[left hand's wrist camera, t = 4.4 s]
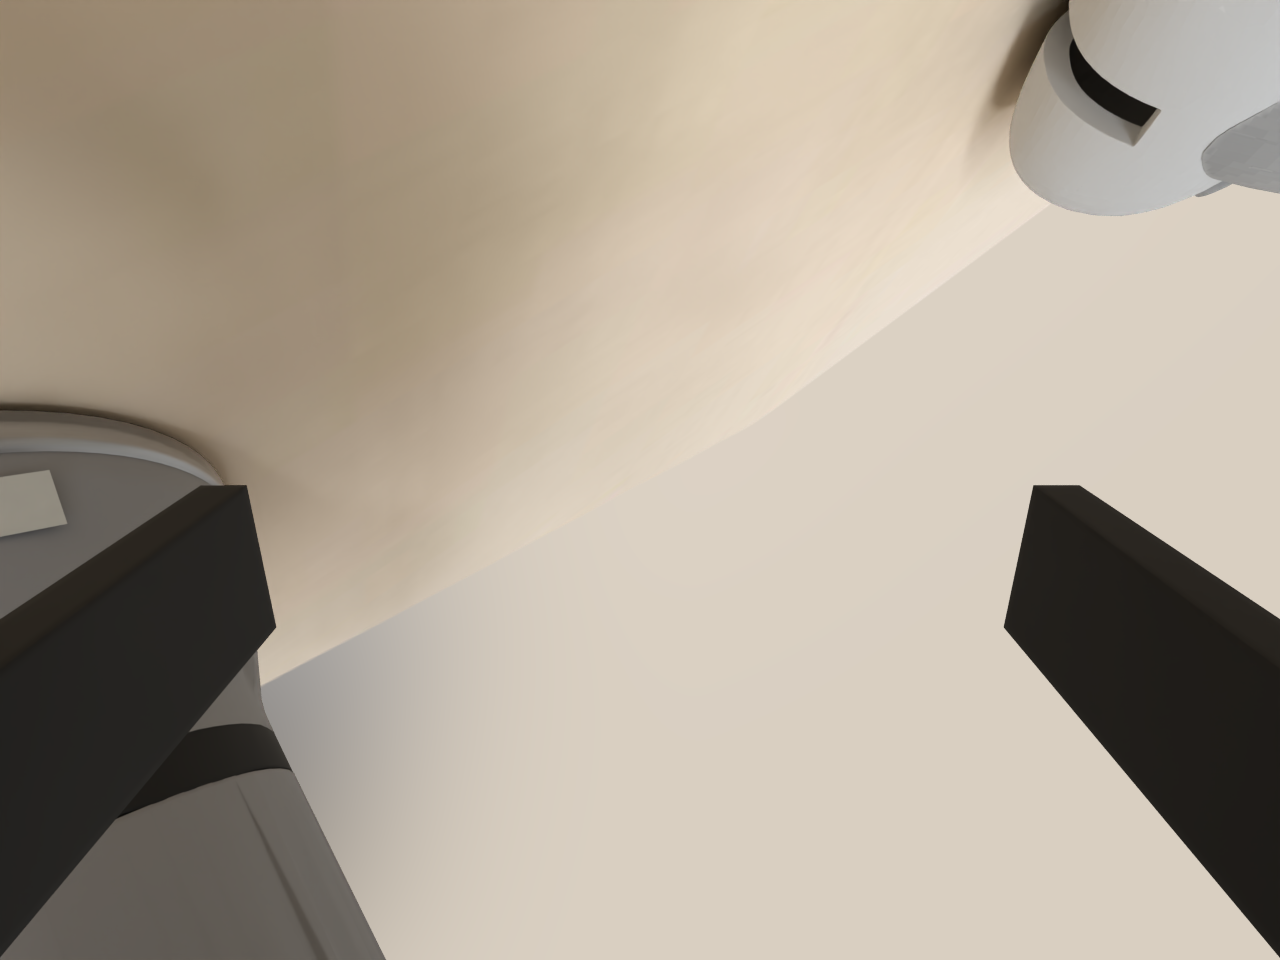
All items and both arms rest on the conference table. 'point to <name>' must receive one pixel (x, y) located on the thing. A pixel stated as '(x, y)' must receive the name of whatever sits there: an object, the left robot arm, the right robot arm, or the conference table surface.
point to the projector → (1151, 104)
